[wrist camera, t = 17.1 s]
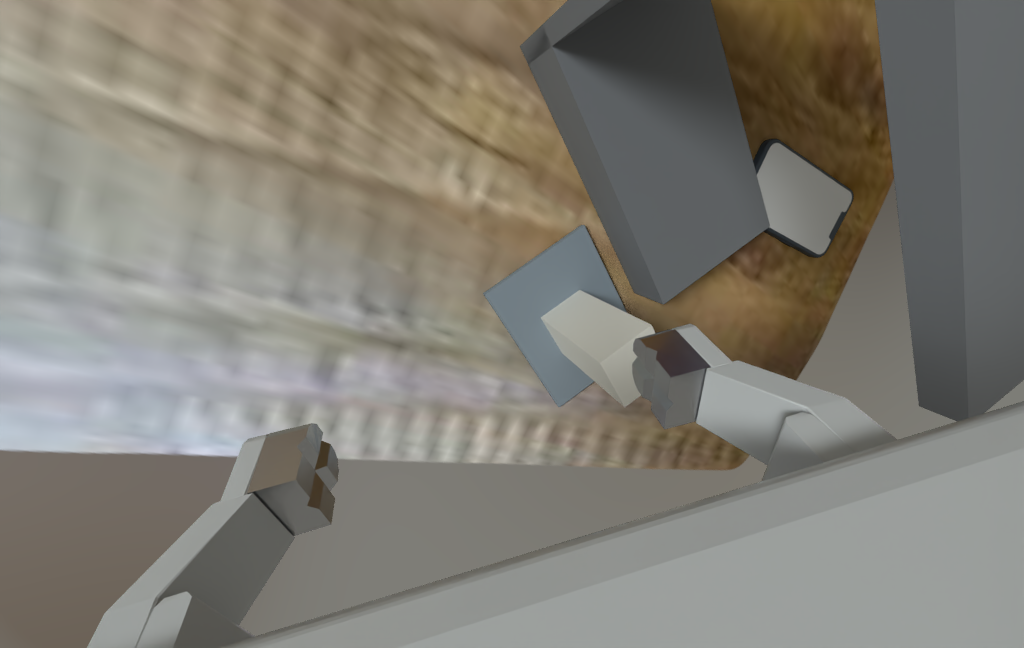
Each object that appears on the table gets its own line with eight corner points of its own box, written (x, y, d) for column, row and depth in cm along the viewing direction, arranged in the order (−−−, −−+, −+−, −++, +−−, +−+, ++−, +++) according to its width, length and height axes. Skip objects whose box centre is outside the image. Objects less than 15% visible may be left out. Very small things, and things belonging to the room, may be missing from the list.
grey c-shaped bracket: (519, 46, 34) (942, -358, 9) (650, -38, 35) (1349, -602, 10) (634, 292, 45) (968, 426, 20) (731, 222, 46) (1162, 263, 21)
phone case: (724, 212, 47) (810, 259, 52) (735, 213, 45) (822, 261, 51) (760, 135, 45) (845, 192, 51) (773, 133, 44) (858, 192, 49)
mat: (483, 293, 40) (484, 294, 39) (581, 224, 41) (584, 225, 40) (556, 405, 46) (559, 407, 46) (639, 343, 47) (642, 345, 47)
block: (540, 317, 42) (599, 363, 31) (579, 289, 42) (651, 324, 31) (562, 353, 44) (624, 407, 33) (599, 326, 44) (672, 371, 33)
